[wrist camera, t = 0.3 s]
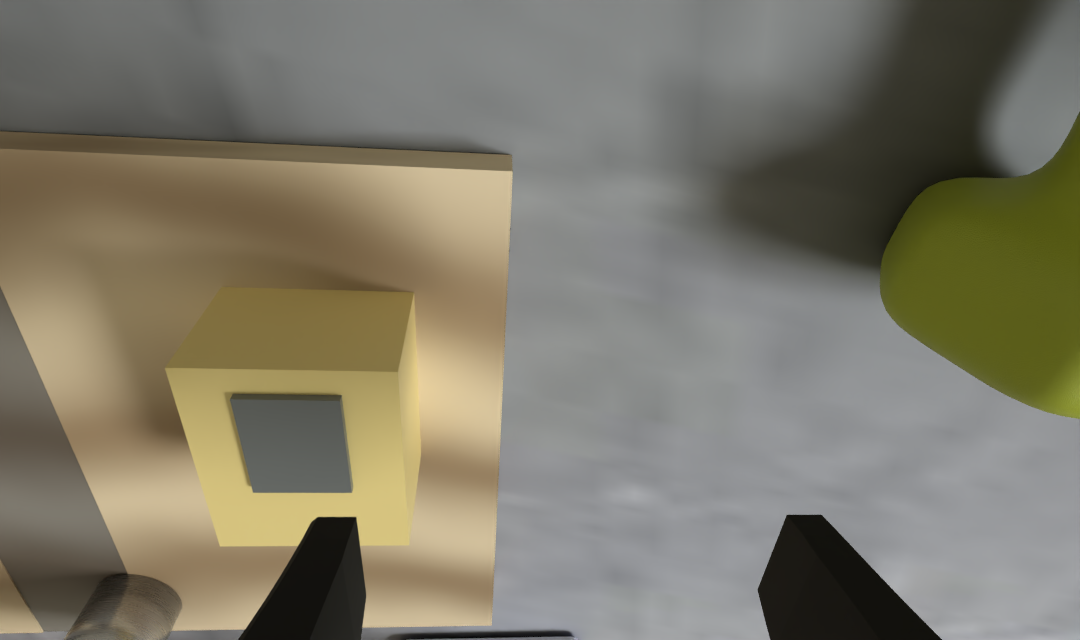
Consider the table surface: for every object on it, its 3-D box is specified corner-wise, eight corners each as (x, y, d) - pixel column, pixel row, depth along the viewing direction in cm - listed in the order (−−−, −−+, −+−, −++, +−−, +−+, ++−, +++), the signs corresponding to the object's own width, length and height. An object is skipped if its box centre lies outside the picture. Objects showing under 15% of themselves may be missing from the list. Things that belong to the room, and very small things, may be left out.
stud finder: (421, 453, 21) (408, 551, 18) (259, 452, 20) (217, 553, 17) (414, 292, 17) (396, 377, 14) (221, 286, 17) (160, 373, 14)
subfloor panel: (491, 598, 27) (491, 625, 26) (-21, 604, 25) (-42, 633, 24) (511, 155, 17) (512, 171, 16) (-350, 115, 15) (-410, 130, 14)
